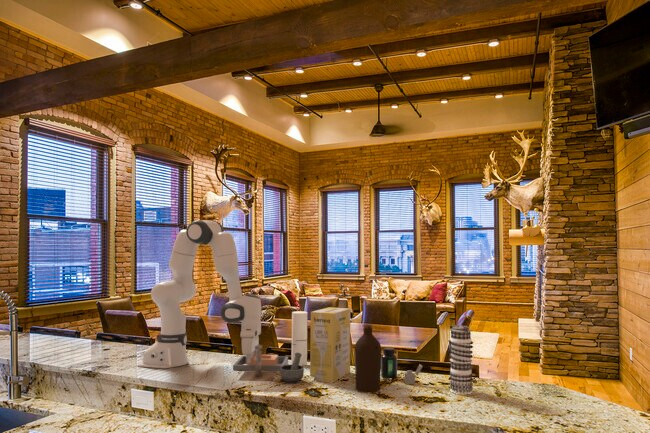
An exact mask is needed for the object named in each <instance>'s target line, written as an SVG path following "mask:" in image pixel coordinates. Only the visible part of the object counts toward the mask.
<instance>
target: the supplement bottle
mask: <svg viewBox="0 0 650 433" xmlns="http://www.w3.org/2000/svg"><path fill="white" fill-rule="evenodd" d="M395 351H396V350H395V348H394V347H383V351H382V354H381V371H380V378H382V377H383V379H385V378H395V379H397V378H398V357H397V355H396V354H395Z"/></svg>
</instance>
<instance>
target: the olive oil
mask: <svg viewBox="0 0 650 433" xmlns="http://www.w3.org/2000/svg"><path fill="white" fill-rule="evenodd" d="M353 350H354V352H353V353H354V371H355V372H354V373H355V390H356V391H358V392H361V393H368V392H370V393H377V392H378V391H380V390H381V356H382V352H383V351H382V346H381V343H380V341H379V340H378V339H377V338H376V336H375V335H374V334H373V325H372V323H364V324H363V334H362V335H361V337H359V339H358V340H356V342H355V345H354V349H353Z"/></svg>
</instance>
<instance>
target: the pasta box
mask: <svg viewBox="0 0 650 433" xmlns="http://www.w3.org/2000/svg"><path fill="white" fill-rule="evenodd" d="M309 341H310V345H309V346H310V349H309V351H310V354H309V355H310V357H309V359H310V361H309V363H310V364H309V365H310V366H309V376H310V377H313V381H316V382H323V383H330V382H332V383H331V384H333V382H334V383H336V382H337V381H339V380H340V379H342V378H344V377H345V376H347V375H348V373H349V374H350V373H351V308H345V307H334V306H333V307H332V306H331V307H330V306H329V307H325V308H321V309H317V310H313V311H310V340H309ZM346 374H347V375H346ZM343 376H344V377H343ZM341 377H342V378H341ZM338 379H339V380H338ZM336 380H337V381H336Z"/></svg>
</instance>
